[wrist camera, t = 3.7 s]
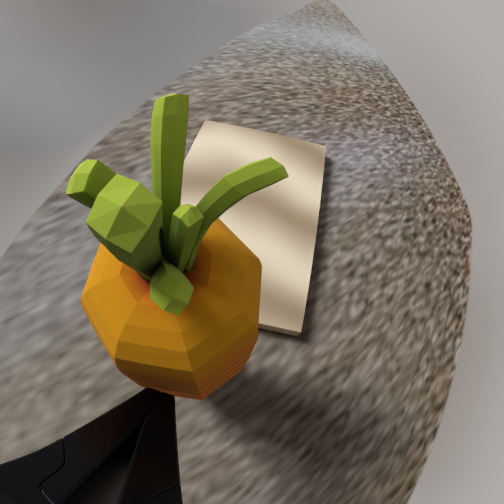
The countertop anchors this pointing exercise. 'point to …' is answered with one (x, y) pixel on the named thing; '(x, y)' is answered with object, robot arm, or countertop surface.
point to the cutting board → (266, 211)
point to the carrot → (172, 266)
